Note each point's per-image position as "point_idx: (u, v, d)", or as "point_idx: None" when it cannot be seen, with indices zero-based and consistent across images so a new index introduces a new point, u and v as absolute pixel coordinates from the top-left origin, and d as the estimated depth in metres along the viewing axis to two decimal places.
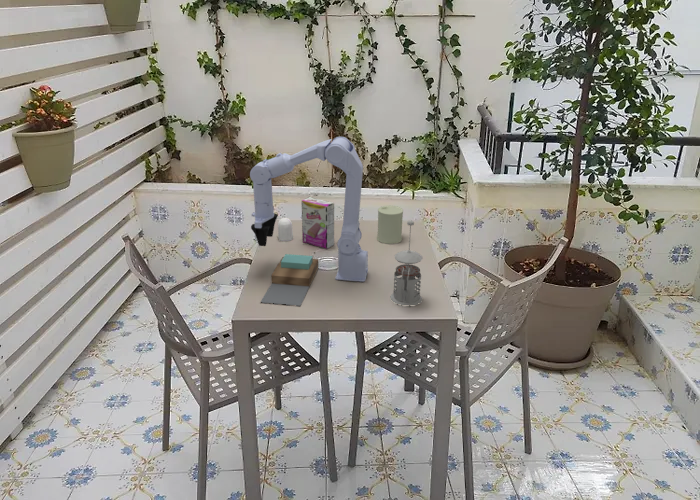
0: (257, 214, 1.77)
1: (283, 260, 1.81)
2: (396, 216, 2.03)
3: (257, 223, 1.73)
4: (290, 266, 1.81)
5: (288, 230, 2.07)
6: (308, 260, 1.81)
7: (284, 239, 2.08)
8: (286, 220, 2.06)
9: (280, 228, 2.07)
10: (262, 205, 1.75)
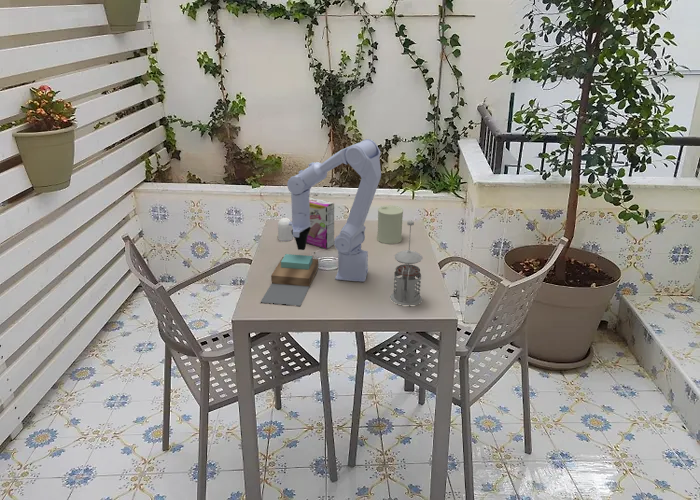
0: (294, 223, 1.83)
1: (283, 260, 1.81)
2: (396, 216, 2.03)
3: (295, 232, 1.79)
4: (290, 266, 1.81)
5: (288, 230, 2.07)
6: (308, 260, 1.81)
7: (284, 239, 2.08)
8: (286, 220, 2.06)
9: (280, 228, 2.07)
10: (300, 215, 1.81)
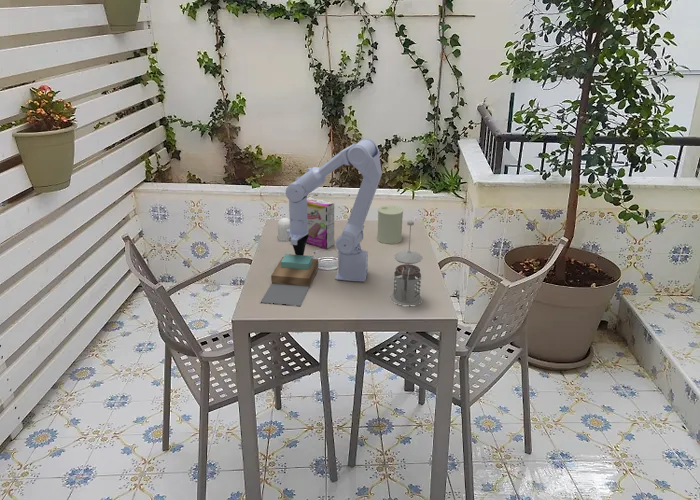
0: (292, 231, 1.81)
1: (283, 260, 1.81)
2: (396, 216, 2.03)
3: (293, 240, 1.76)
4: (290, 266, 1.81)
5: None
6: (308, 260, 1.81)
7: (284, 239, 2.08)
8: (286, 220, 2.06)
9: (280, 228, 2.07)
10: (297, 222, 1.79)
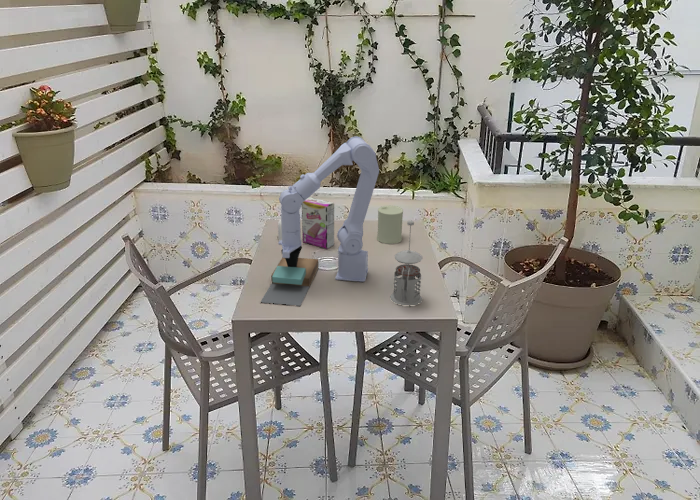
0: (284, 243, 1.72)
1: (274, 275, 1.73)
2: (396, 216, 2.03)
3: (285, 253, 1.68)
4: (282, 281, 1.72)
5: None
6: (301, 275, 1.73)
7: None
8: None
9: (280, 228, 2.07)
10: (290, 234, 1.70)
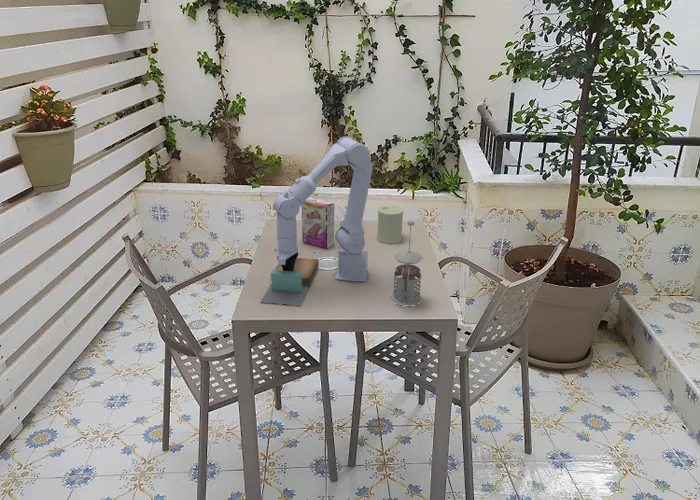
0: (280, 249, 1.68)
1: (273, 286, 1.73)
2: (396, 216, 2.03)
3: (281, 259, 1.64)
4: None
5: None
6: (299, 286, 1.71)
7: None
8: None
9: None
10: (286, 240, 1.66)
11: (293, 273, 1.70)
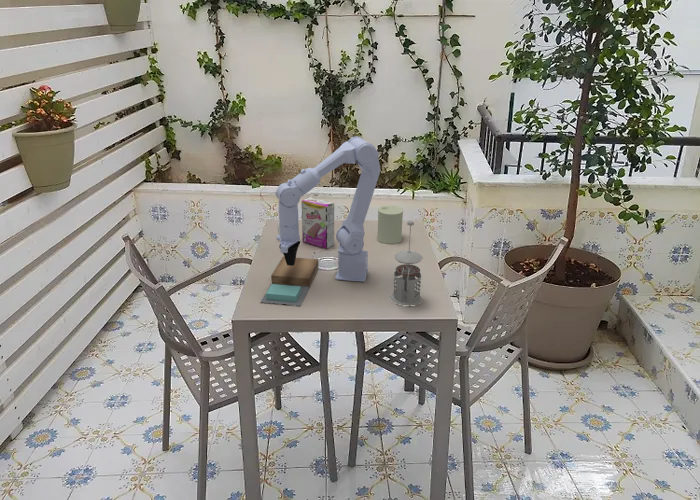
0: (282, 237, 1.69)
1: None
2: (396, 216, 2.03)
3: (283, 247, 1.65)
4: None
5: None
6: None
7: None
8: None
9: None
10: (288, 228, 1.67)
11: (288, 298, 1.67)
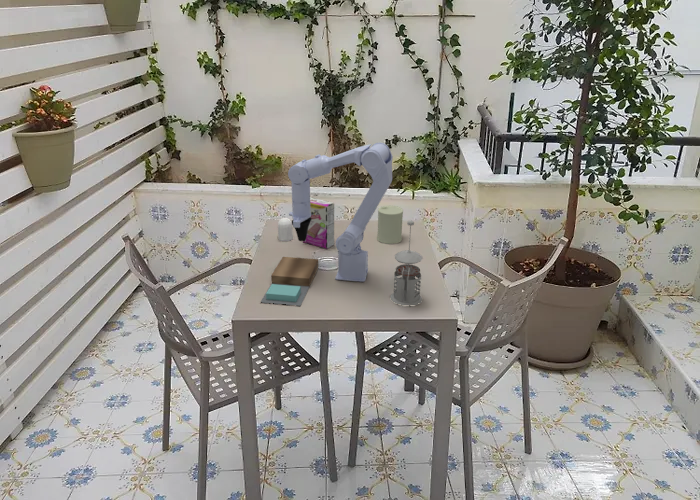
0: (295, 213, 1.78)
1: None
2: (396, 216, 2.03)
3: (296, 222, 1.74)
4: None
5: (288, 230, 2.07)
6: None
7: (284, 239, 2.08)
8: (286, 220, 2.06)
9: (280, 228, 2.07)
10: (300, 205, 1.76)
11: (288, 298, 1.67)
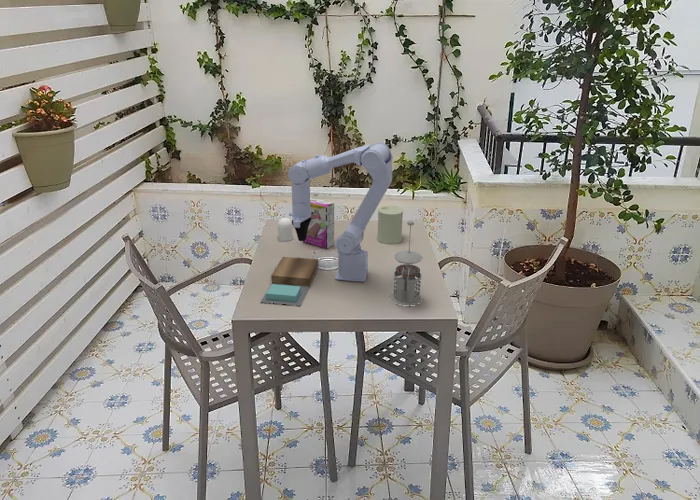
0: (295, 213, 1.78)
1: None
2: (396, 216, 2.03)
3: (296, 222, 1.74)
4: None
5: (288, 230, 2.07)
6: None
7: (284, 239, 2.08)
8: (286, 220, 2.06)
9: (280, 228, 2.07)
10: (300, 205, 1.76)
11: (288, 298, 1.67)
